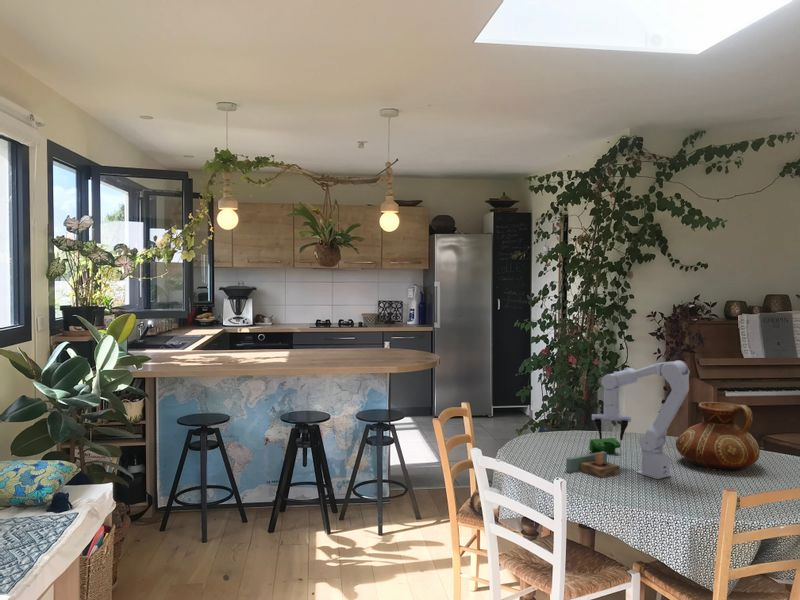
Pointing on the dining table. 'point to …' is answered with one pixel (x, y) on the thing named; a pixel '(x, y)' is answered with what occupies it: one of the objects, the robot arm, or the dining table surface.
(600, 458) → the dowel
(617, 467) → the square frame
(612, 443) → the clamp
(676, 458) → the dining table surface
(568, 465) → the wall
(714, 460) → the jug
